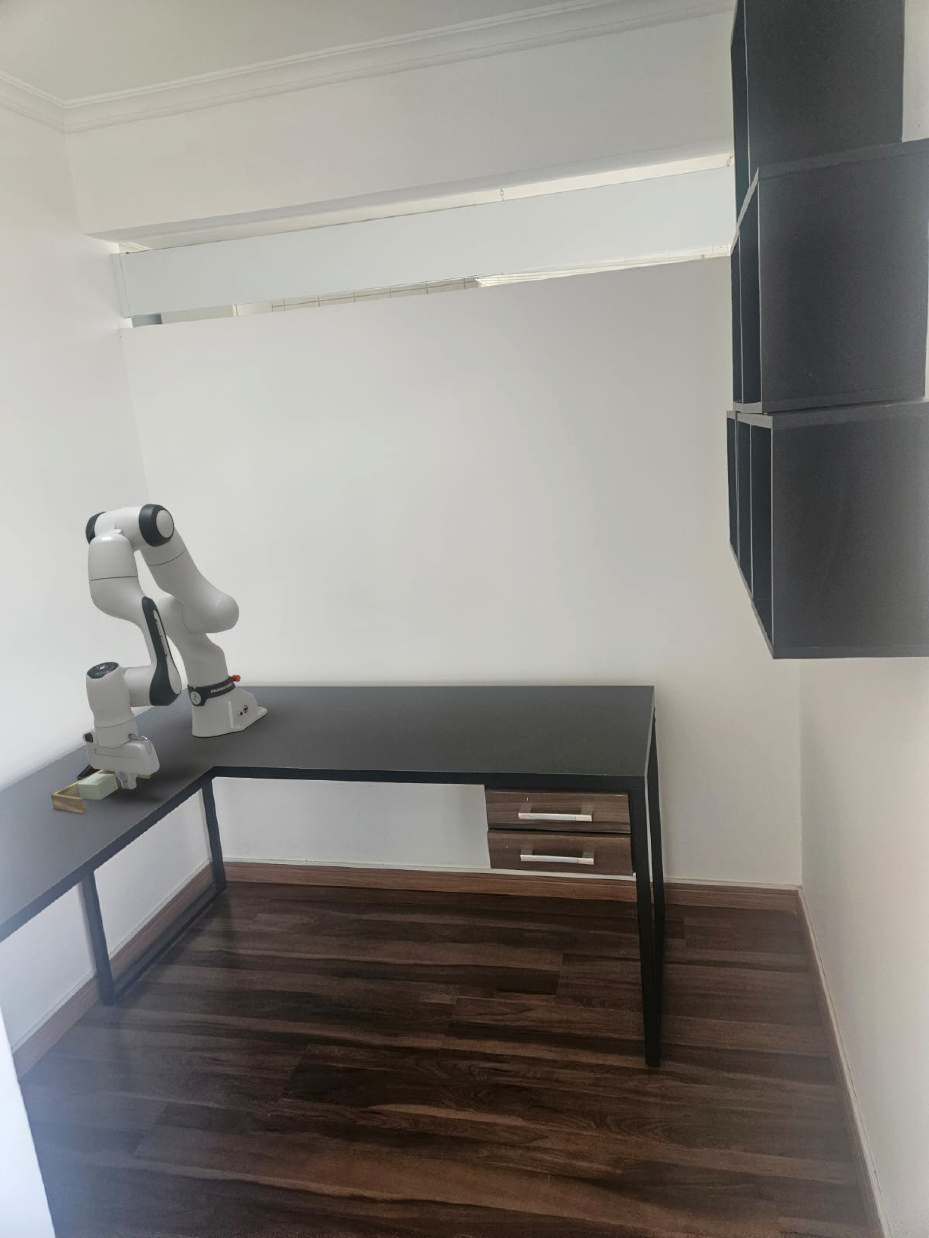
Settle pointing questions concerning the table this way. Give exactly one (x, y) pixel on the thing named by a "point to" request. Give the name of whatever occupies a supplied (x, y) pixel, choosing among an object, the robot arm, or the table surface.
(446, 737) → the table surface
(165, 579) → the robot arm
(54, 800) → the wooden u-shaped bracket
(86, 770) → the phone
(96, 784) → the sage block
